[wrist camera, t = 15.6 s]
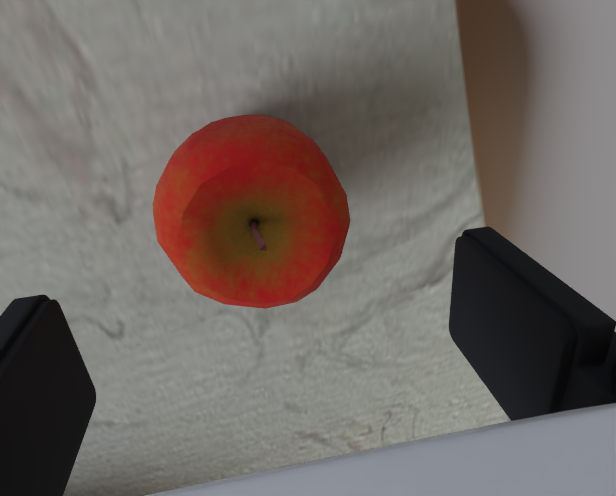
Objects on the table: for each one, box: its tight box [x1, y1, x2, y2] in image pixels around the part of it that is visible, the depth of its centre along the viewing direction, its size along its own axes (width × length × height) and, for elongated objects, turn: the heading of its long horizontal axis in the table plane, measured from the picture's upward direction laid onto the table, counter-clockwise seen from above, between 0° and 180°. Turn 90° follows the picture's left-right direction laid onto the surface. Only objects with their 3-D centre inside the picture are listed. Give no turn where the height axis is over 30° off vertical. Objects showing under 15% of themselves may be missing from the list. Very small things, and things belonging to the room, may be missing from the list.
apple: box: [153, 115, 350, 308], centre depth 16 cm, size 6×6×8 cm
